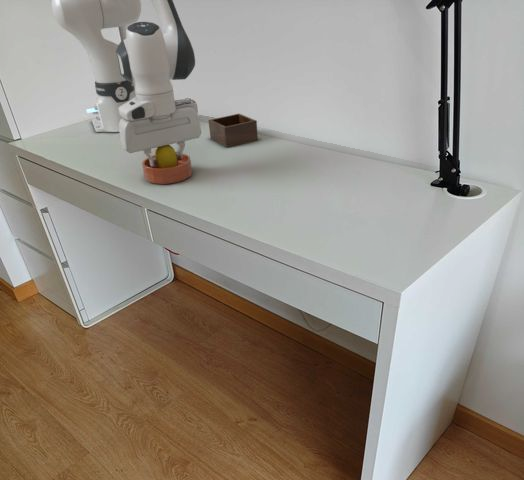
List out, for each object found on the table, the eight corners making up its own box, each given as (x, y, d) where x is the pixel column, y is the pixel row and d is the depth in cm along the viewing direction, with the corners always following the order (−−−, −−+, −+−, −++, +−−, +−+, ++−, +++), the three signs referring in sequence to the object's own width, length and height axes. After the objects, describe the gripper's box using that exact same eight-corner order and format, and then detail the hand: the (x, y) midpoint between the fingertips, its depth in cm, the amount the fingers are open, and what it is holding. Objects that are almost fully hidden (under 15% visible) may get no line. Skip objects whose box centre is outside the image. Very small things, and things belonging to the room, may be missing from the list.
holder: (210, 139, 152) (208, 120, 149) (240, 132, 156) (239, 113, 153) (226, 147, 145) (224, 127, 142) (257, 140, 149) (256, 120, 145)
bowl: (138, 174, 131) (135, 159, 129) (180, 164, 136) (178, 149, 133) (155, 188, 123) (152, 172, 120) (200, 177, 127) (198, 161, 125)
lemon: (182, 175, 128) (177, 143, 123) (161, 180, 126) (155, 147, 121) (176, 169, 132) (171, 138, 127) (155, 173, 130) (149, 141, 125)
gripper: (190, 94, 124) (198, 151, 133) (111, 109, 117) (124, 168, 126) (201, 98, 120) (208, 157, 129) (120, 114, 113) (133, 175, 121)
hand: (166, 162), depth 127 cm, fingers closed on lemon, 5 cm apart
